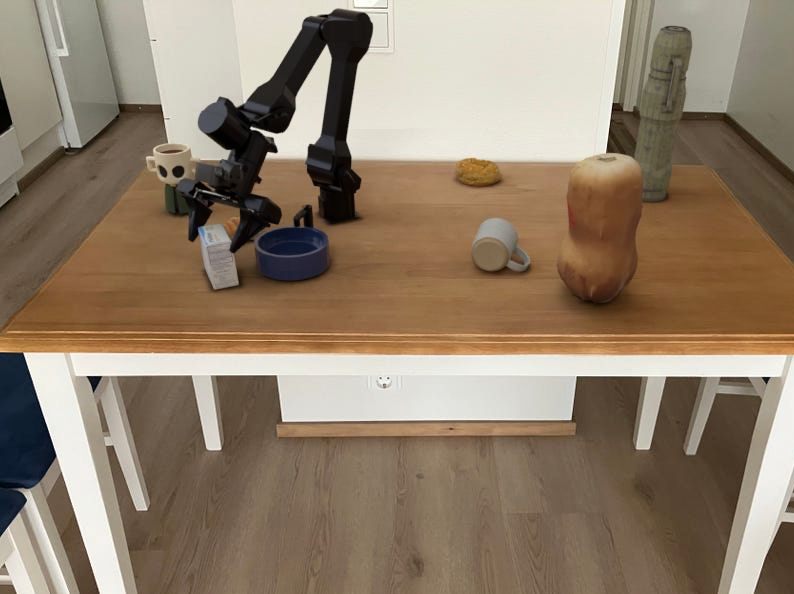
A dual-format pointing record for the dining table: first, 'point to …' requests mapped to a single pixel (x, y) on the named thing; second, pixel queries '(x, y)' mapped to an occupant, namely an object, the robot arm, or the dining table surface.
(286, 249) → the basin
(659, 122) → the thermos
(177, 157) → the character mug
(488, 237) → the ceramic mug
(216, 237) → the medicine box
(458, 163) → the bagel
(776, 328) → the dining table surface
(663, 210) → the dining table surface
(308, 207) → the tap
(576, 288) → the butternut squash
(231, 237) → the pastry
